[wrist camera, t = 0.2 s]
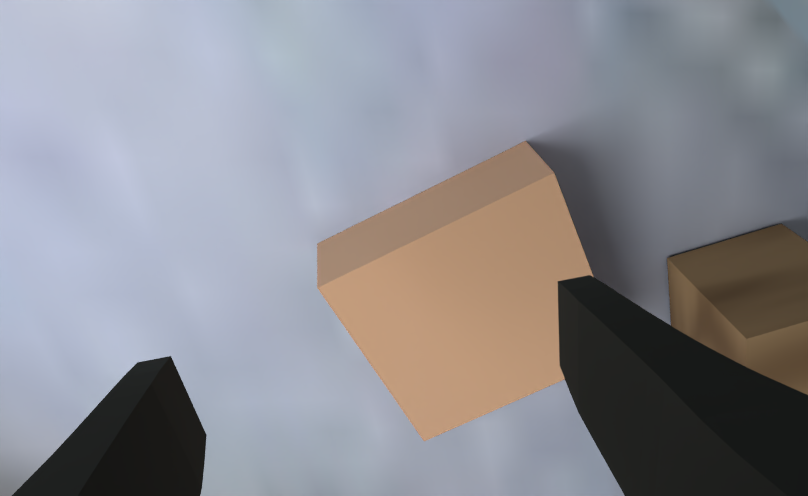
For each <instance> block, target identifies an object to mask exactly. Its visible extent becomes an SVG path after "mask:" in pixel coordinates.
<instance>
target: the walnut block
mask: <svg viewBox="0 0 808 496" xmlns="http://www.w3.org/2000/svg"><path fill="white" fill-rule="evenodd" d="M667 263H668V280H669V297H670V314H671V326H672V327H674V328H675V329H677V330H679V331H680V332H682V333H684V334H686V335H687V336H689V337H691V338H693V339H694V340H696V341H698V342H700V343H702V344H703V345H705V346H707V347H709V348H711V349H713V350H715V351H716V352H718V353H720V354H722V355H724V356H726V357H728V358H730V359H732V360H733V361H735V362H737V363H739V364H741V365H743V366H745V367H747V368H749V369H751V370H754V371H756V372H758V373H760V374H762V375H764V376H766V377H769V378H771V379H773V380H775V381H777V382H780V383H782V384H784V385H786V386H789V387H791V388H793V389H795V390H798V391H800V392H802V393H804V394H807V395H808V242H807V241H806V240H804V239H803V238H801V237H800V236H798V235H797V234H796V233H794V232H793V231H791V230H790V229H788V228H787V227H785V226H784V225H783V224H779V225H775V226H772V227H769V228H765V229H762V230H759V231H755V232H752V233H749V234H745V235H742V236H739V237H735V238H732V239H729V240H726V241H722V242H719V243H716V244H712V245H709V246H706V247H702V248H699V249H696V250H692V251H689V252H686V253H682V254H679V255H676V256H672V257H669V258H667Z"/></svg>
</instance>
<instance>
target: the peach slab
mask: <svg viewBox="0 0 808 496" xmlns="http://www.w3.org/2000/svg"><path fill="white" fill-rule="evenodd" d="M587 275H591V276H592V277H593V274H592V271H591V269H590V266H589V263H588V261H587V258H586V256H585V253H584V250H583V248H582V245H581V242H580V240H579V237H578V234H577V232H576V229H575V226H574V224H573V221H572V218H571V216H570V213H569V211H568V208H567V205H566V203H565V200H564V197H563V195H562V192H561V189H560V187H559V184H558V181H557V179H556V176H555V174H554V172H553V171H552V170H551V169H550V167H549V166H548V165H547V164H546V163H545V162H544V161H543V160H542V158H541V157H540V156H539V155H538V154H537V153H536V152H535V151H534V150H533V148H532V147H531V146H530V145H529V144H528V143H527V142H526V141H524V142H522V143H520V144H518V145H516V146H514V147H512V148H510V149H508V150H506V151H504V152H502V153H500V154H498V155H496V156H494V157H492V158H490V159H488V160H486V161H484V162H482V163H480V164H478V165H476V166H474V167H472V168H470V169H468V170H466V171H464V172H462V173H460V174H458V175H456V176H453V177H451V178H449V179H447V180H445V181H443V182H441V183H439V184H437V185H435V186H433V187H431V188H429V189H427V190H425V191H423V192H421V193H419V194H417V195H415V196H413V197H411V198H409V199H407V200H405V201H403V202H401V203H399V204H397V205H395V206H393V207H391V208H389V209H387V210H385V211H383V212H380V213H378V214H376V215H374V216H372V217H370V218H368V219H366V220H364V221H362V222H360V223H358V224H356V225H354V226H352V227H350V228H348V229H346V230H344V231H342V232H340V233H338V234H336V235H334V236H332V237H330V238H328V239H326V240H324V241H322V242H320V243H318V244H317V288H318V289H319V291H320V292H321V294H322V295H323V297H324V298H325V300H326V301H327V302H328V304H329V305H330V307H331V308H332V310H333V311H334V312H335V314H336V315H337V317H338V318H339V320H340V321H341V323H342V324H343V325H344V327H345V328H346V330H347V331H348V333H349V334H350V335H351V337H352V338H353V340H354V341H355V343H356V344H357V346H358V347H359V348H360V350H361V351H362V353H363V354H364V356H365V357H366V358H367V360H368V361H369V363H370V364H371V366H372V367H373V369H374V370H375V371H376V373H377V374H378V376H379V377H380V379H381V380H382V381H383V383H384V384H385V386H386V387H387V389H388V390H389V392H390V393H391V394H392V396H393V397H394V399H395V400H396V402H397V403H398V404H399V406H400V407H401V409H402V410H403V412H404V413H405V415H406V416H407V417H408V419H409V420H410V422H411V423H412V425H413V426H414V427H415V429H416V430H417V432H418V433H419V435H420V436H421V438H422V439H423V440H424V441H426V440H428V439H430V438H433V437H435V436H437V435H440V434H442V433H444V432H446V431H449V430H451V429H453V428H455V427H458V426H460V425H462V424H464V423H467V422H469V421H471V420H473V419H476V418H478V417H480V416H483V415H485V414H487V413H489V412H492V411H494V410H496V409H498V408H501V407H503V406H505V405H507V404H510V403H512V402H514V401H516V400H519V399H521V398H523V397H526V396H528V395H530V394H532V393H535V392H537V391H539V390H541V389H544V388H546V387H548V386H550V385H553V384H555V383H557V382H559V381H562V380H564V379H565V378H564V375H563V373H562V370H561V368H560V361H559V319H558V281H562V280H567V279H572V278H577V277H582V276H587Z"/></svg>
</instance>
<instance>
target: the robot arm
mask: <svg viewBox="0 0 808 496" xmlns="http://www.w3.org/2000/svg"><path fill="white" fill-rule="evenodd" d="M558 319H559V361H560V368H561V370H562V373H563V375H564V378H565V380H566V383H567V385H568V388H569V391H570V393H571V395H572V398H573V400H574V403H575V405H576V407H577V410H578V412H579V414H580V416H581V418H582V420H583V421H584V423H585V425H586V427H587V429H588V430H589V432H590V434H591V436H592V438H593V440H594V441H595V443H596V445H597V447H598V449H599V450H600V452H601V454H602V456H603V457H604V459H605V461H606V463H607V465H608V466H609V468H610V470H611V472H612V473H613V475H614V477H615V479H616V481H617V482H618V484H619V486H620V488H621V489H622V491H623V493H624V495H625V496H808V395H807V394H804V393H802V392H800V391H798V390H795V389H793V388H791V387H789V386H786V385H784V384H782V383H780V382H777V381H775V380H773V379H771V378H769V377H766V376H764V375H762V374H760V373H758V372H756V371H754V370H751V369H749V368H747V367H745V366H743V365H741V364H739V363H737V362H735V361H733V360H732V359H730V358H728V357H726V356H724V355H722V354H720V353H718V352H716V351H715V350H713V349H711V348H709V347H707V346H705V345H703V344H702V343H700V342H698V341H696V340H694V339H693V338H691V337H689V336H687V335H686V334H684V333H682V332H680V331H679V330H677V329H675V328H674V327H672V326H670V325H669V324H667V323H665V322H664V321H662V320H660V319H659V318H657V317H656V316H654V315H652V314H651V313H649V312H647V311H646V310H644V309H643V308H641V307H640V306H638V305H636V304H635V303H633V302H632V301H630V300H629V299H627V298H625V297H624V296H622V295H621V294H619V293H618V292H616V291H615V290H613V289H611V288H610V287H608V286H607V285H605V284H604V283H602V282H600V281H599V280H597V279H596V278H594V277H592V276H591V275H587V276H582V277H577V278H572V279H567V280H562V281H558ZM205 446H206V433H205V431H204V429H203V427H202V424H201V422H200V420H199V418H198V416H197V413H196V411H195V409H194V407H193V404H192V402H191V400H190V398H189V396H188V393H187V391H186V389H185V387H184V385H183V382H182V380H181V378H180V376H179V373H178V371H177V369H176V367H175V365H174V362H173V360H172V358H171V356H169V357H164V358H159V359H154V360H149V361H143V362H138V363H137V364H136V365H135V366H134V367H133V368H132V369H131V370H130V371H129V372H128V373H127V374H126V375H125V376H124V377H123V378H122V379H121V380H120V381H119V382H118V383H117V384H116V386H115V387H114V388H113V389H112V390H111V391H110V392H109V393H108V394H107V395H106V397H105V398H104V399H103V400H102V401H101V402H100V403H99V404H98V405H97V407H96V408H95V409H94V410H93V411H92V412H91V413H90V414H89V415H88V417H87V418H86V419H85V420H84V421H83V422H82V423H81V424H80V425H79V426H78V427H77V429H76V430H75V431H74V432H73V433H72V434H71V435H70V436H69V437H68V438H67V439H66V441H65V442H64V443H63V444H62V445H61V446H60V447H59V448H58V449H57V450H56V451H55V452H54V454H53V455H52V456H51V457H50V458H49V459H48V460H47V461H46V462H45V463H44V464H43V465H42V466H41V467H40V468H39V469H38V470H37V471H36V472H35V473H34V474H33V475H32V476H31V477H30V478H29V479H28V480H27V481H26V482H25V483H24V484H23V485H22V486H21V487H20V488H19V489H18V490H17V491H16V492H15V493H14V494H13V495H12V496H200V494H201V489H202V480H203V471H204V460H205Z"/></svg>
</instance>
